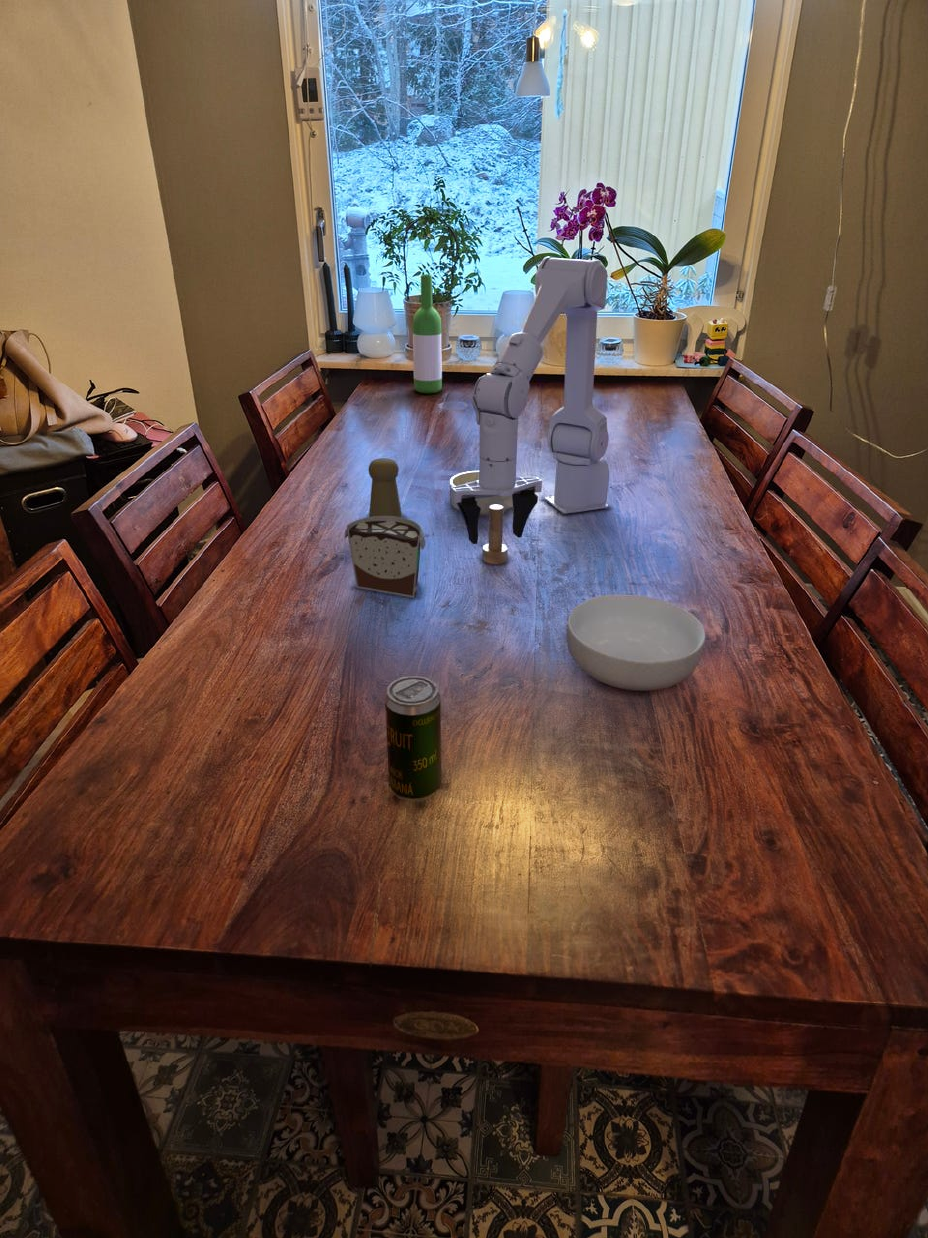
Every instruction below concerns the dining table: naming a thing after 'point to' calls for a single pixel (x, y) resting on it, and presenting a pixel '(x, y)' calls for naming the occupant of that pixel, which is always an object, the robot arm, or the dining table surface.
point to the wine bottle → (427, 342)
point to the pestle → (495, 537)
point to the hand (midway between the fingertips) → (495, 538)
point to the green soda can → (413, 738)
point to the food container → (386, 554)
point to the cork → (384, 488)
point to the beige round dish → (481, 502)
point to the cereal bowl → (635, 641)
